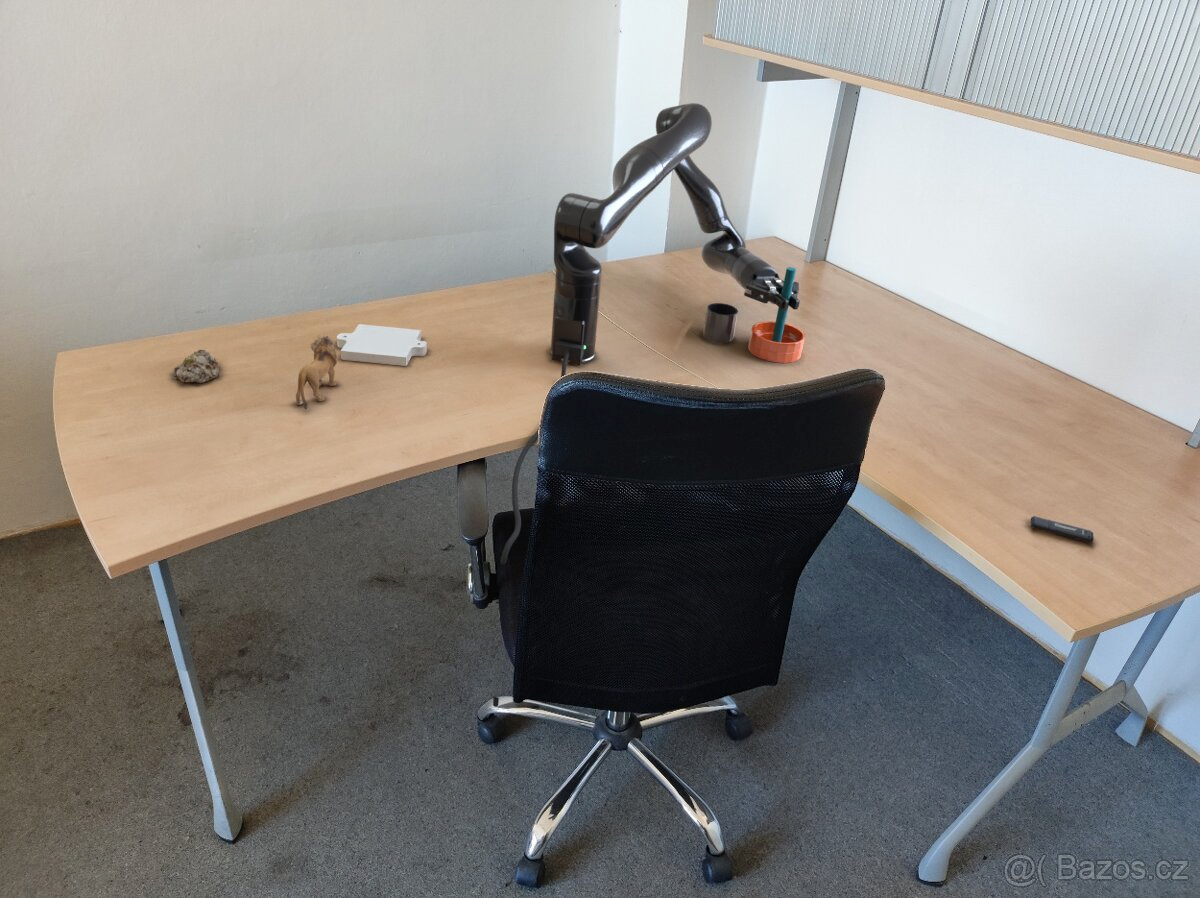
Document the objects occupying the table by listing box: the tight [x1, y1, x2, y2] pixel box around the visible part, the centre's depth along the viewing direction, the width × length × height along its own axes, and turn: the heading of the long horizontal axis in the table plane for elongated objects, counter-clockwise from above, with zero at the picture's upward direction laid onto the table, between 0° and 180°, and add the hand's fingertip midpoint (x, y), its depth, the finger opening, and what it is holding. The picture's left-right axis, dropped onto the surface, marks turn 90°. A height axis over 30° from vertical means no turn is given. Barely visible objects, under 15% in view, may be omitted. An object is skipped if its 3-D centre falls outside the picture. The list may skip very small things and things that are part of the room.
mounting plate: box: [336, 323, 428, 367], centre depth 180 cm, size 18×13×2 cm
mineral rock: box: [173, 349, 220, 384], centre depth 165 cm, size 11×4×8 cm
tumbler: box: [702, 302, 739, 344], centre depth 198 cm, size 7×7×7 cm
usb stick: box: [1030, 515, 1095, 543], centre depth 145 cm, size 10×3×2 cm, turn 69°
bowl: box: [747, 320, 806, 364], centre depth 194 cm, size 12×12×5 cm
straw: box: [772, 266, 797, 343], centre depth 190 cm, size 2×2×19 cm
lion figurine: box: [295, 334, 338, 410], centre depth 161 cm, size 15×5×9 cm, turn 179°
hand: (791, 305), depth 187 cm, fingers closed on straw, 2 cm apart
